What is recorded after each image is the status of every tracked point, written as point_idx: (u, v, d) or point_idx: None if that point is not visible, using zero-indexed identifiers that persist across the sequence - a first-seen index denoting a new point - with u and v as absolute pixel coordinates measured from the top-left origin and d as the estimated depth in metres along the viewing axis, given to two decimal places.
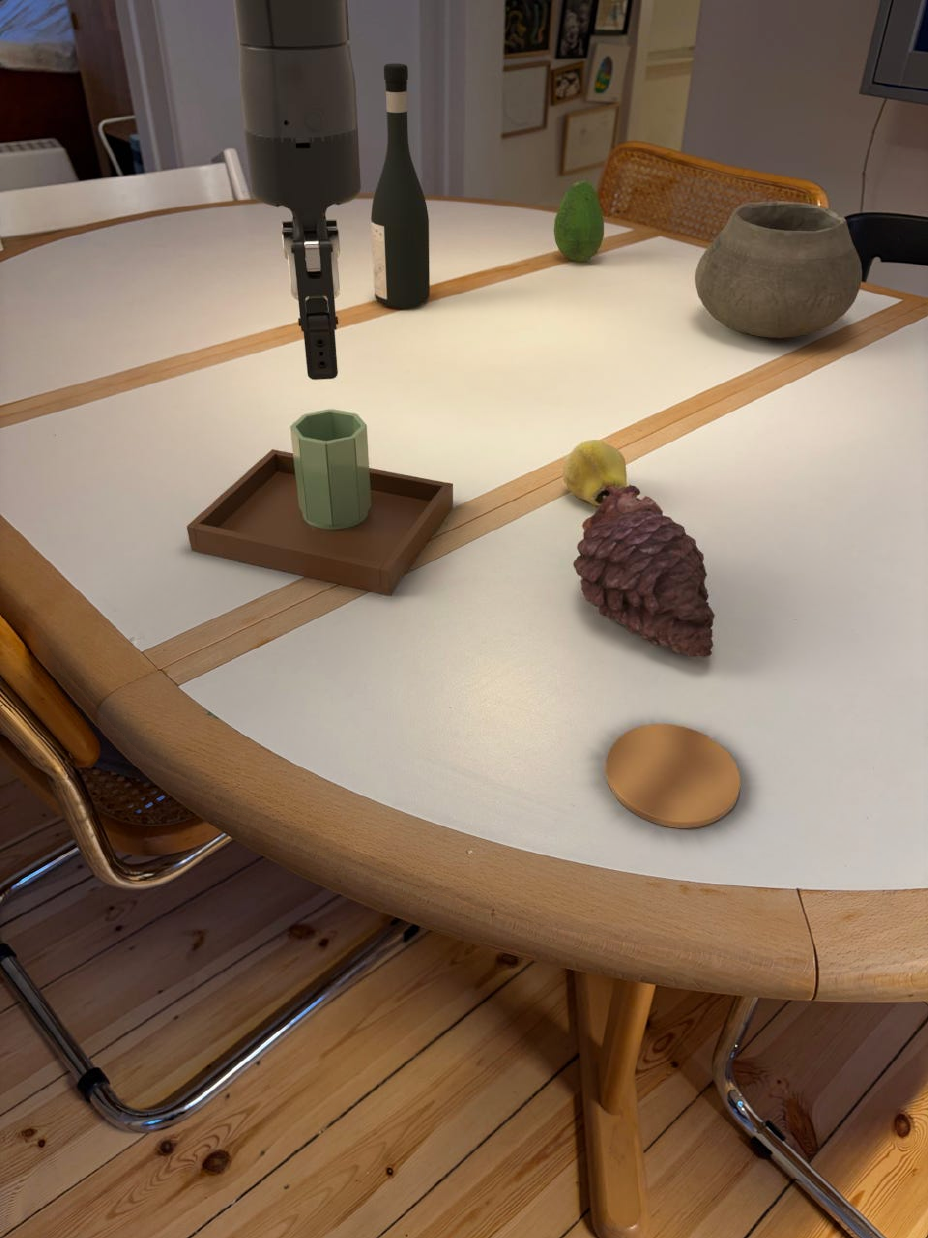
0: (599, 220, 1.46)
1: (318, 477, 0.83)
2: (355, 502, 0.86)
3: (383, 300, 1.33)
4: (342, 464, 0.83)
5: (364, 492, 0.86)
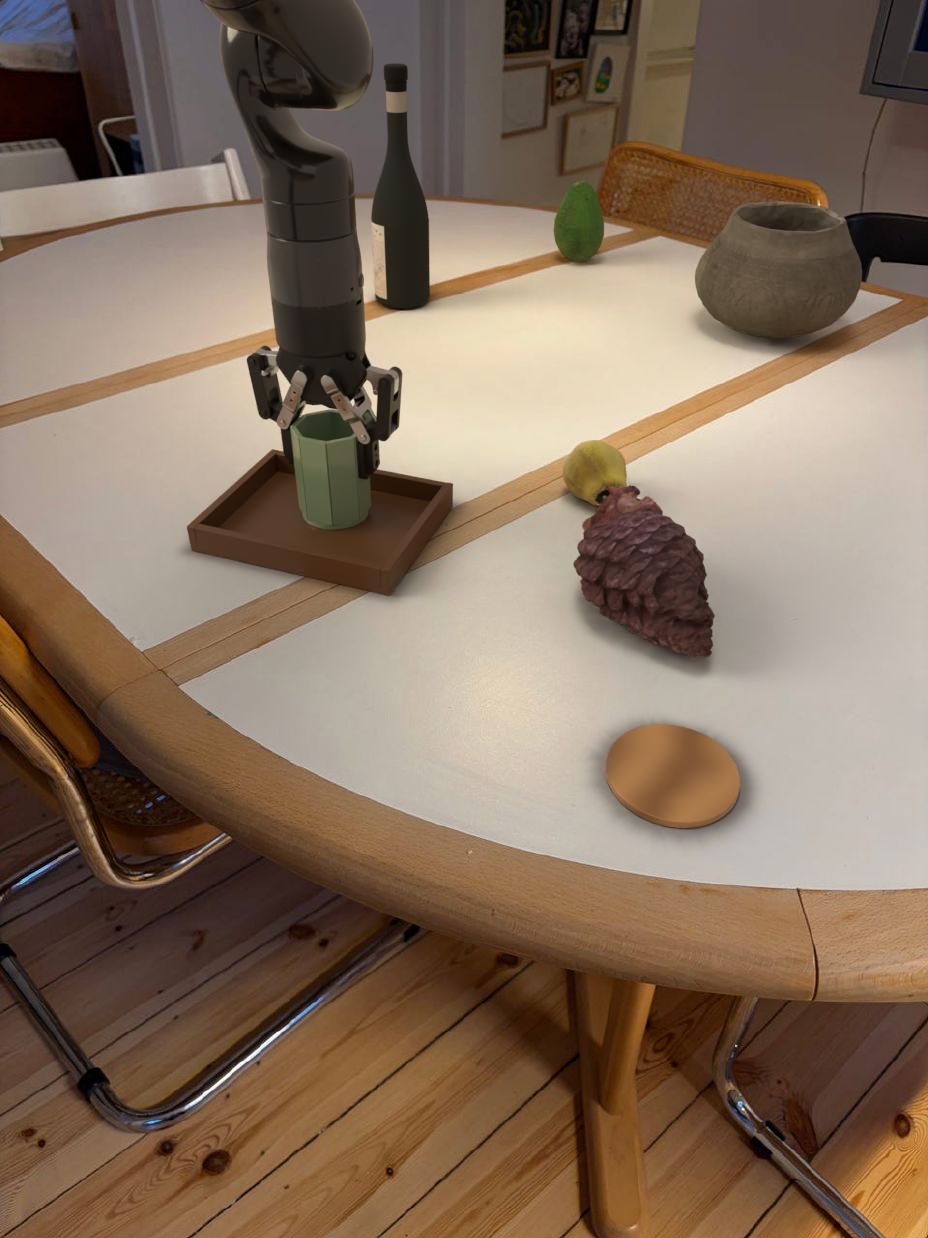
0: (599, 220, 1.46)
1: (318, 477, 0.83)
2: (355, 502, 0.86)
3: (383, 300, 1.33)
4: (342, 464, 0.83)
5: (364, 492, 0.86)
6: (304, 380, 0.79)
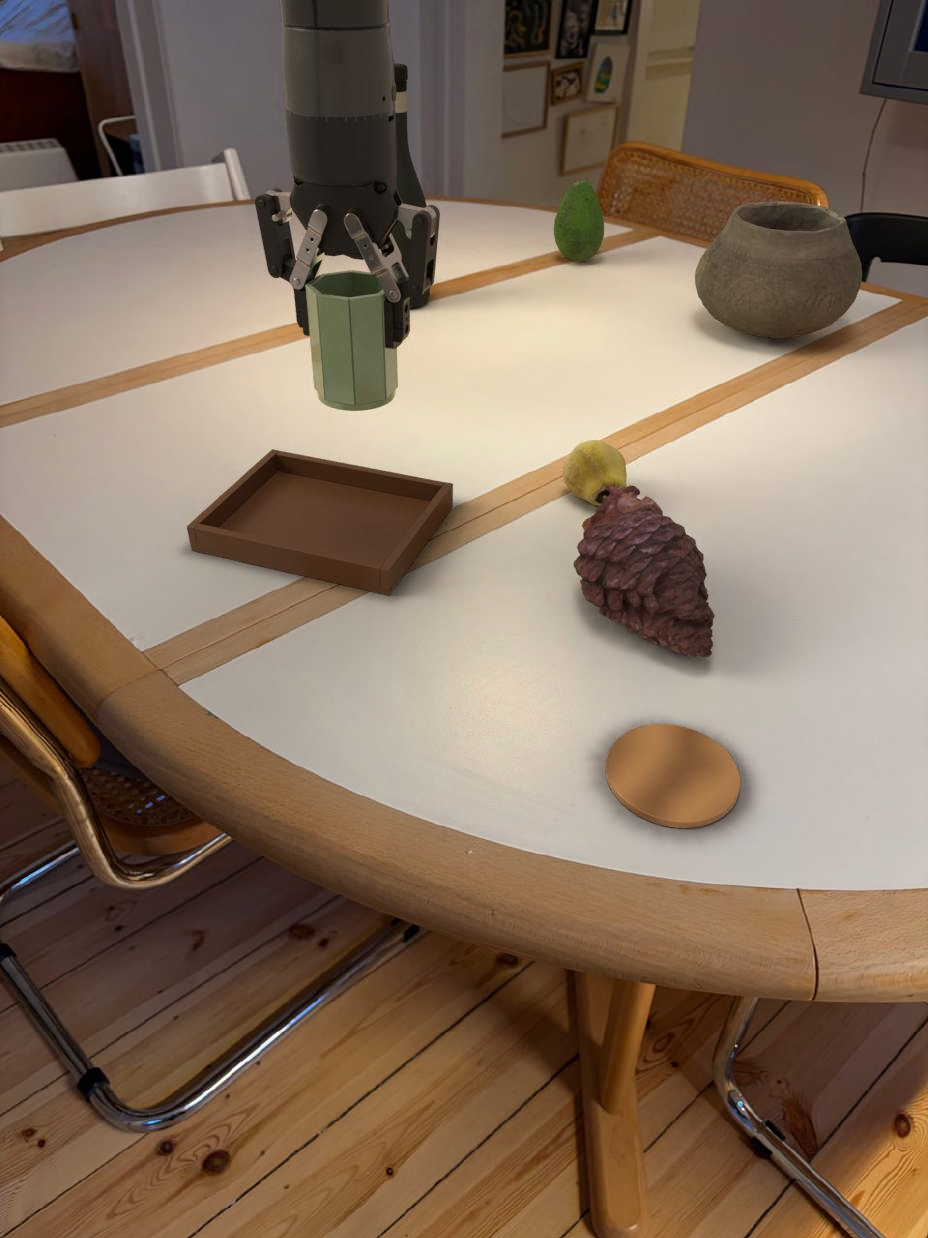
0: (599, 220, 1.46)
1: (339, 344, 0.71)
2: (381, 377, 0.73)
3: None
4: (367, 327, 0.71)
5: (391, 367, 0.74)
6: (324, 221, 0.67)
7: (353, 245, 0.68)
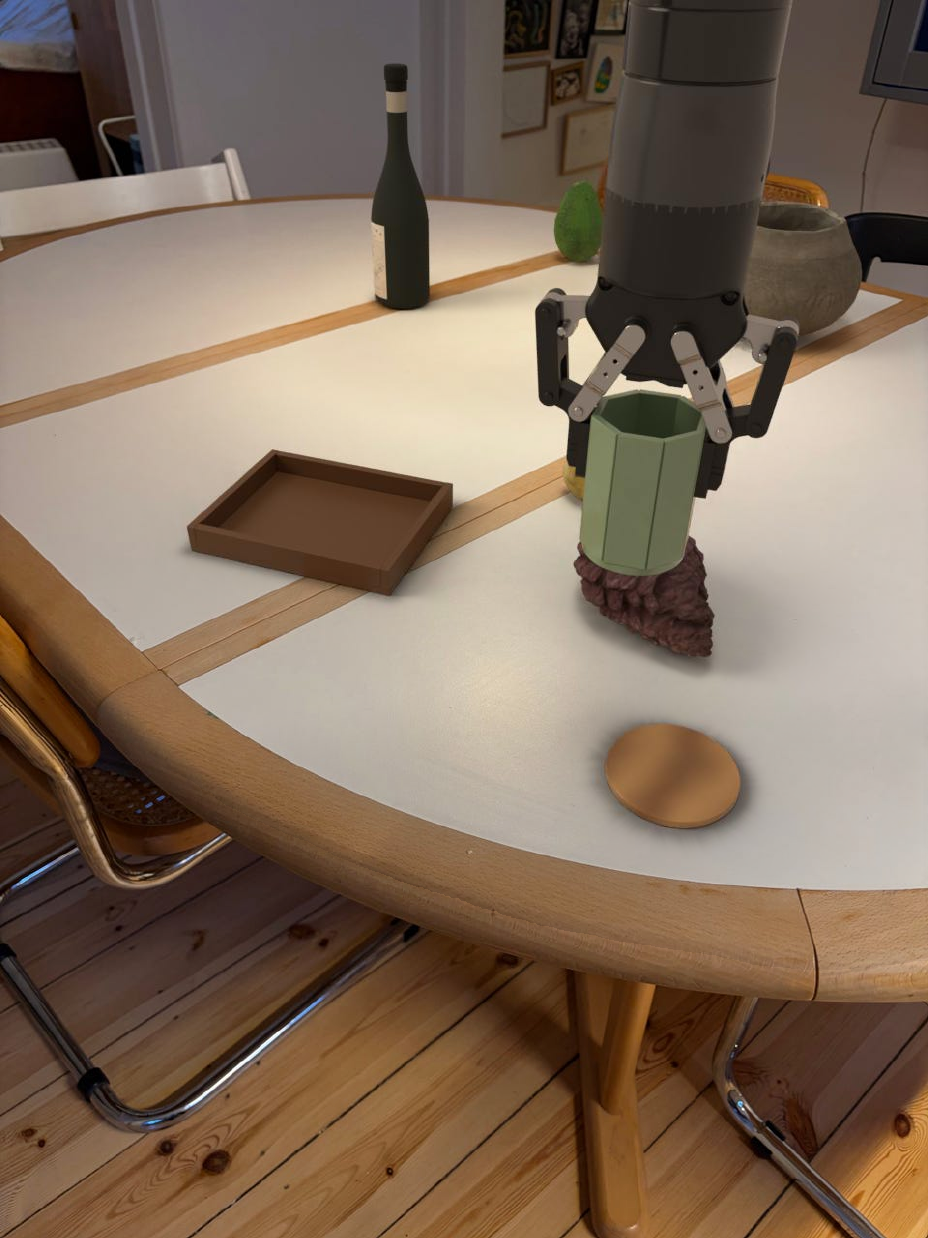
0: (599, 220, 1.46)
1: (638, 496, 0.53)
2: (682, 533, 0.55)
3: (383, 300, 1.33)
4: (679, 475, 0.52)
5: (690, 517, 0.56)
6: (640, 340, 0.49)
7: (673, 369, 0.50)
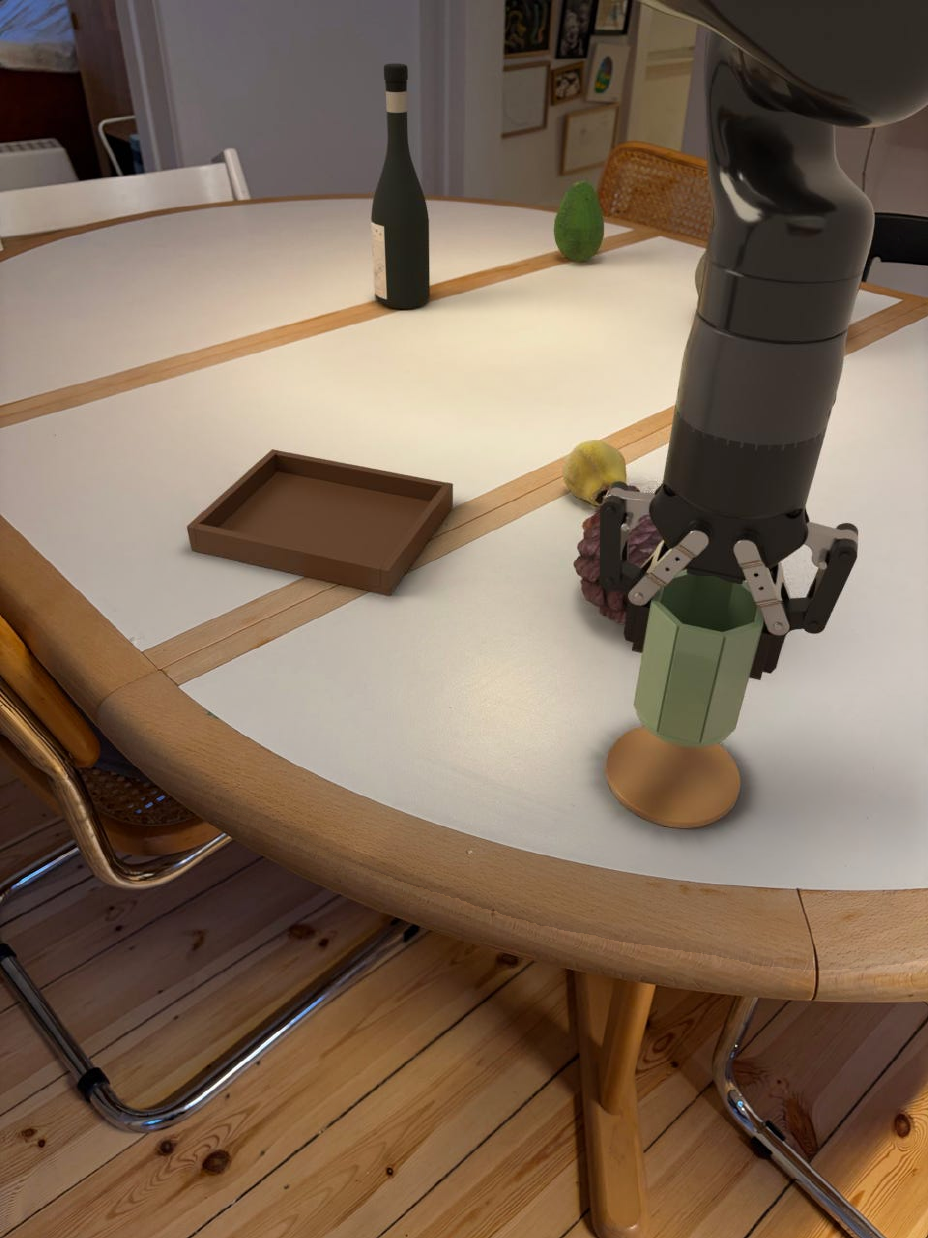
0: (599, 220, 1.46)
1: (696, 680, 0.54)
2: (736, 710, 0.57)
3: (383, 300, 1.33)
4: (736, 662, 0.54)
5: None
6: (703, 544, 0.50)
7: (733, 568, 0.51)
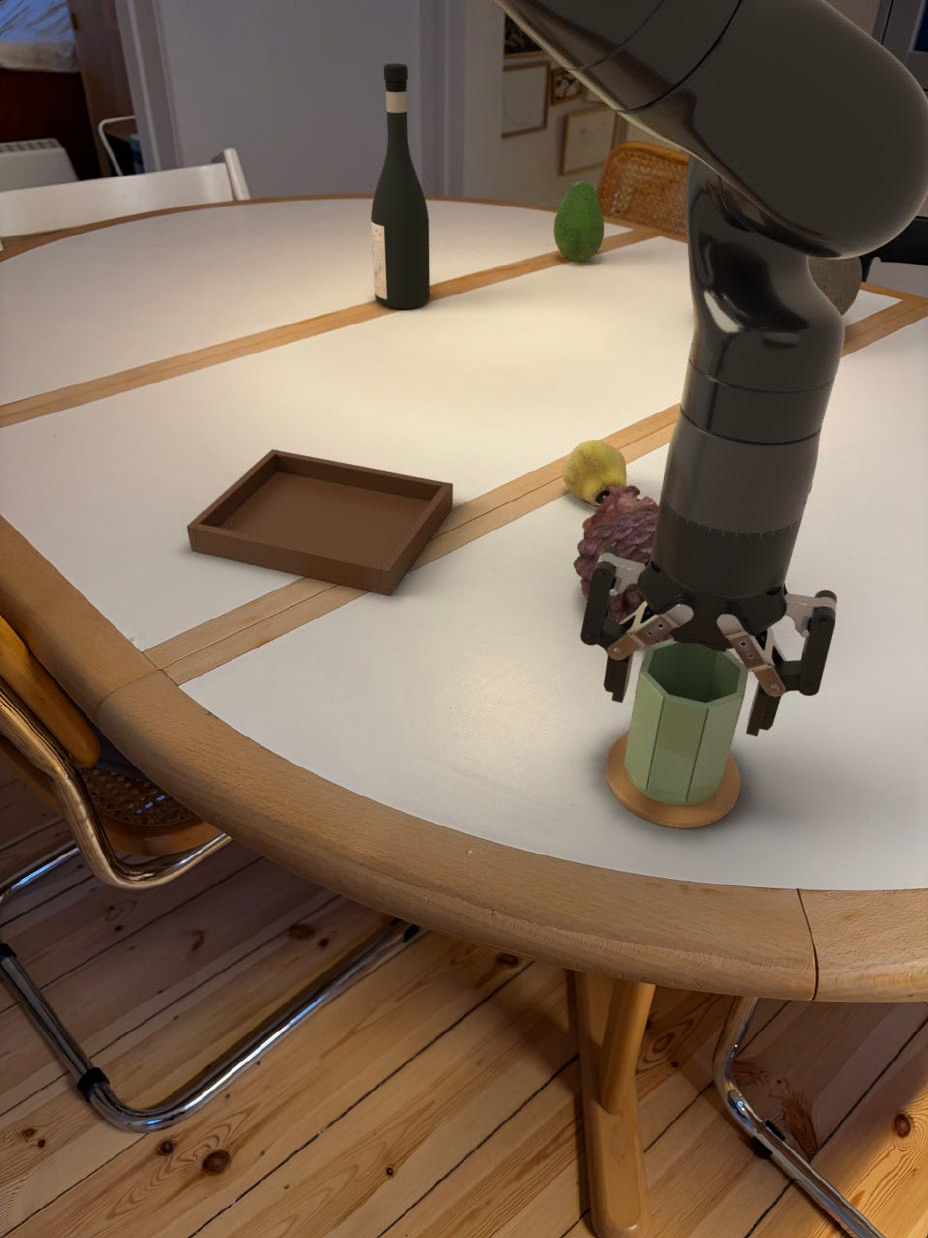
0: (599, 220, 1.46)
1: (682, 746, 0.58)
2: (720, 771, 0.60)
3: (383, 300, 1.33)
4: (719, 730, 0.57)
5: None
6: (688, 617, 0.53)
7: (717, 638, 0.55)
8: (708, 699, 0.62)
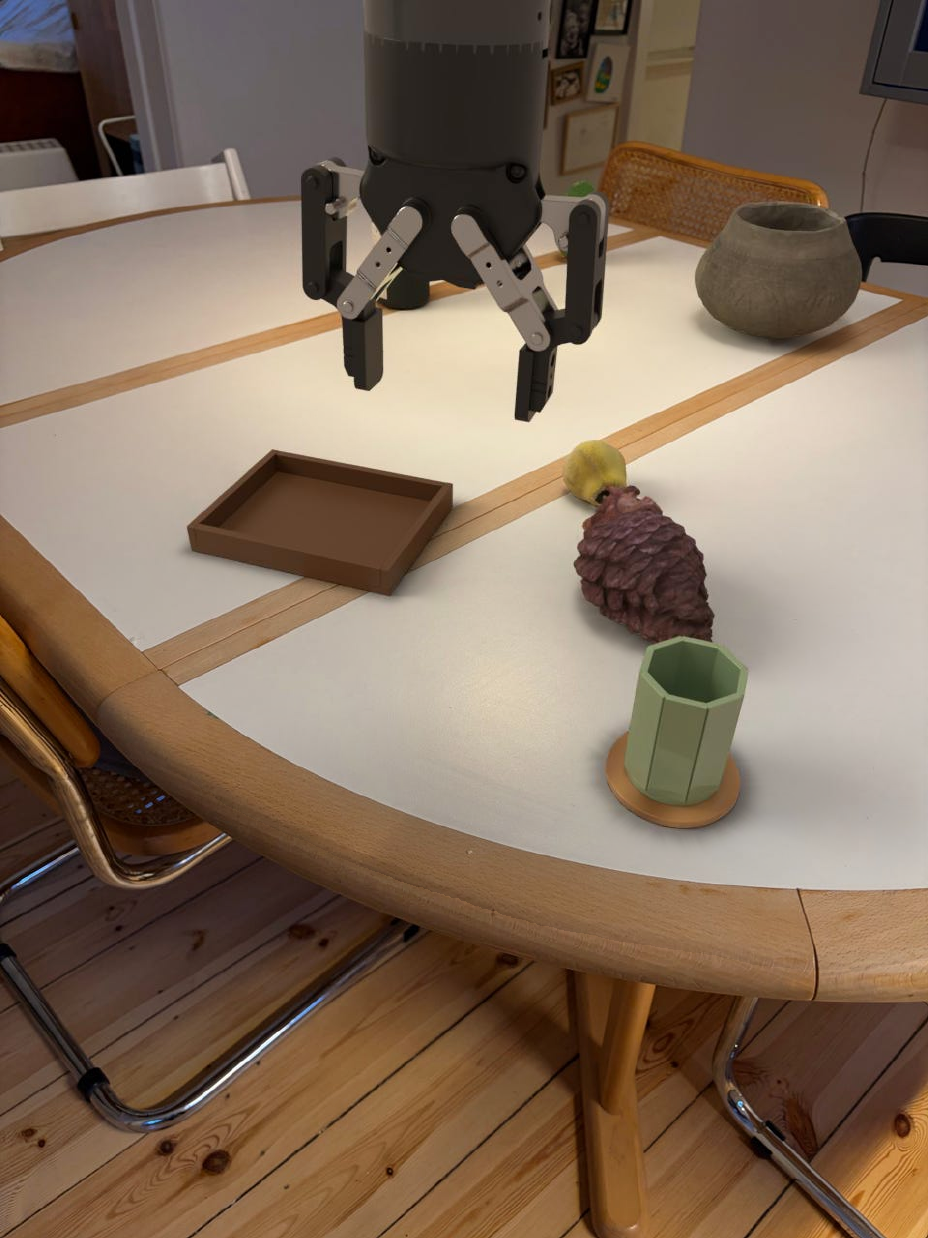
0: None
1: (682, 746, 0.58)
2: (720, 771, 0.60)
3: (383, 300, 1.33)
4: (719, 730, 0.57)
5: None
6: (417, 226, 0.41)
7: (461, 266, 0.42)
8: (708, 699, 0.62)
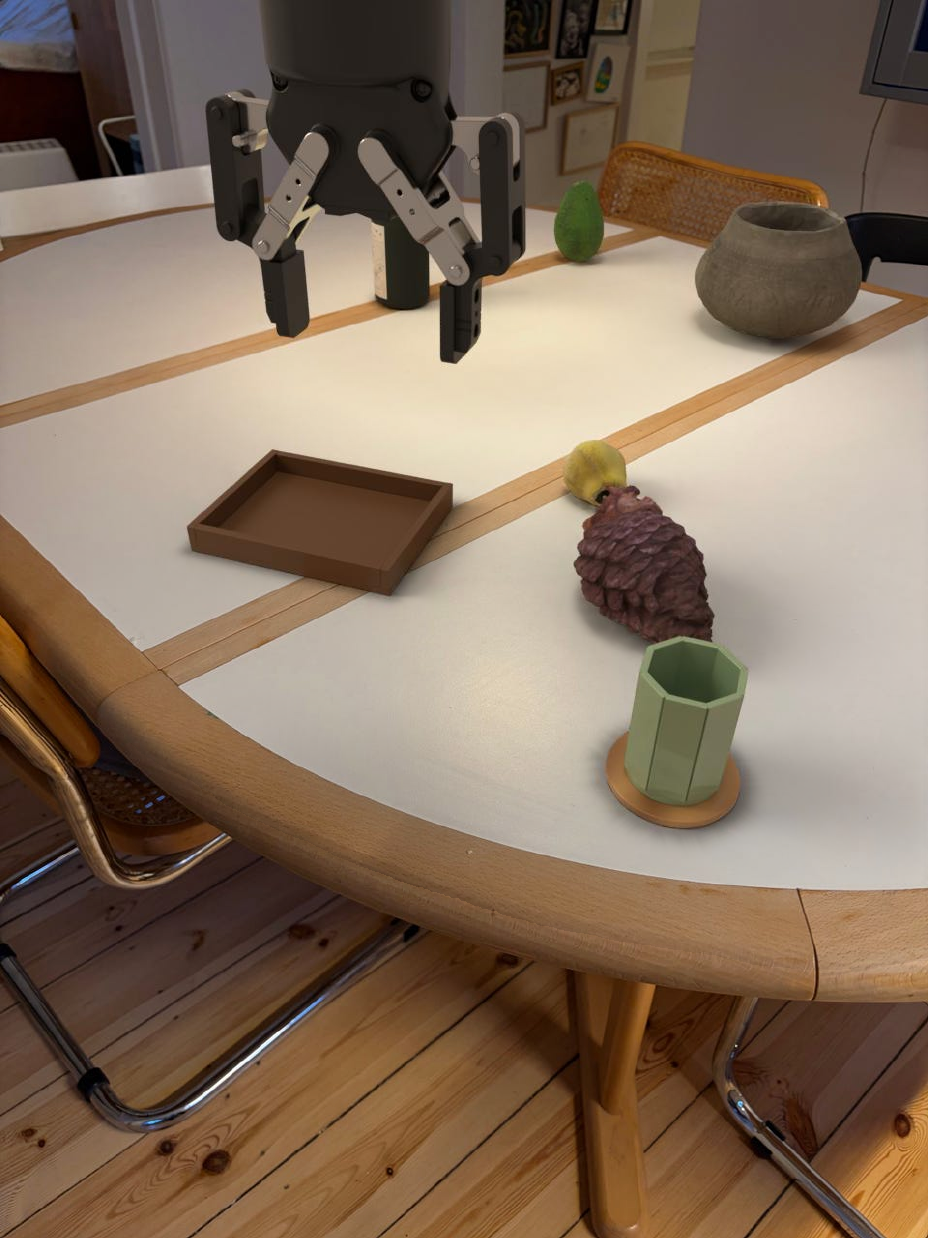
0: (599, 220, 1.46)
1: (682, 746, 0.58)
2: (720, 771, 0.60)
3: (383, 300, 1.33)
4: (719, 730, 0.57)
5: None
6: (323, 153, 0.39)
7: (373, 196, 0.40)
8: (708, 699, 0.62)
